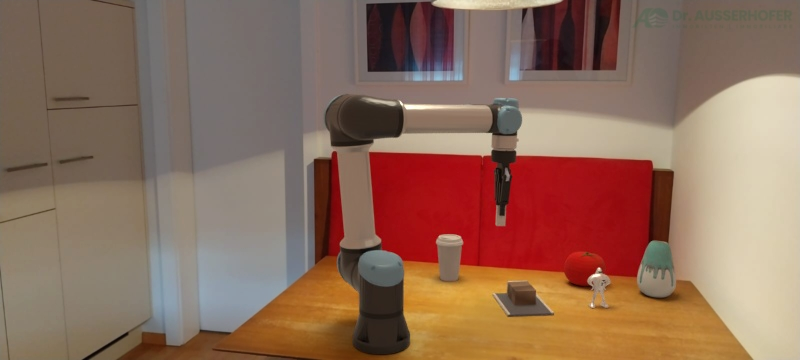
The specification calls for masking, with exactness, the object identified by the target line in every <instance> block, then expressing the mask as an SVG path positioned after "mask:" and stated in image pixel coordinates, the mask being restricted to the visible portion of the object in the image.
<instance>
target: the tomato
mask: <svg viewBox="0 0 800 360" xmlns="http://www.w3.org/2000/svg"><path fill="white" fill-rule="evenodd" d="M597 268H601V270H602V274H605V275H606V262H605V261H604V259H603V258H602V256H600V254H596V253H593V252H592V253H591V252H588V251H574V252H572V253H571V254H569V255H568V257H567V258H566V259H565V262H564V266H563V271H564V275H565V278H566V279H567V281H568V282H570V283H571V284H573V285H575V286H580V287H588V286H591V285H589V284H588V282H587V281H588V278H589V277H590V276H591V275H593V274H595V273H596V270H597ZM592 284H593V281H592ZM593 285H594V284H593Z"/></svg>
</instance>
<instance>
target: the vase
mask: <svg viewBox="0 0 800 360" xmlns="http://www.w3.org/2000/svg"><path fill="white" fill-rule="evenodd" d="M640 261H641V262H640V265H639V267H638V271H637V276H636V283H637V287H638V289H639V291H640V292H641V293H643V294H644V295H646V296H648V297H652V298H658V299H659V298H666V297H667V298H668V297H669V296H670V295H672V294H673V293H674V291H675V289H676V286H677V277H676V276H677V275H676V271H675V265H674V261H673V255H672V249H671V246H670V244H669V242H667V241H661V240H652V241H650V242H649V243H648V245H647V246H646V248H645V251H644V254H643V257H642V259H641V260H640Z"/></svg>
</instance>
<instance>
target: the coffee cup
mask: <svg viewBox="0 0 800 360" xmlns="http://www.w3.org/2000/svg"><path fill="white" fill-rule="evenodd" d="M435 244H436V245H437V257H438V272H439V279H440V280H441V281H443V282H455V281H458V280H459V276H460V275H459V274H460V265H461V257H462V250H463V249H462V246H463V245H464V241H463V239H462V236H461V235H457V234H452V233H451V234H450V233H448V234H445V233H444V234H439V236H438V237H437V238H436V241H435Z"/></svg>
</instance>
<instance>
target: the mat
mask: <svg viewBox="0 0 800 360" xmlns="http://www.w3.org/2000/svg"><path fill="white" fill-rule="evenodd" d="M492 297H493V298H494V300H495V301H496V302H497V304H498V305H499V307H500V308H501V309H502V311H503V312H504V313H505V314H504V315H506V316H507V318H508V317H510V318H511V317H533V316H534V317H535V316H536V317H537V316H554V315H555V312H554V311H553V310H552V309H551V308H550V307H549V305H548V304H547V303H546V302H545V301H544V300H543V299H542V298H541V297H540V296H539V295H538V294H537V293H536V305H514V303H513V302H512V301H511V299H510V298H509V297H508V296H507V292H501V293H500V292H499V293H495V292H492Z"/></svg>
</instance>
